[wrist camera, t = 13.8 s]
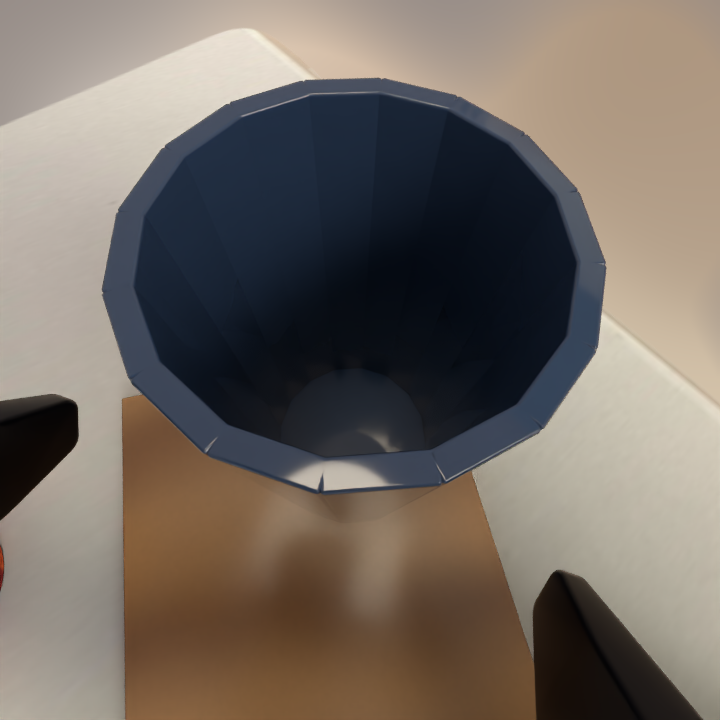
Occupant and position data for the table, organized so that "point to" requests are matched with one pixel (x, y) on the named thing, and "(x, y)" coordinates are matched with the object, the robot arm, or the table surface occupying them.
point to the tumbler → (354, 290)
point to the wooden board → (307, 599)
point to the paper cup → (1, 568)
